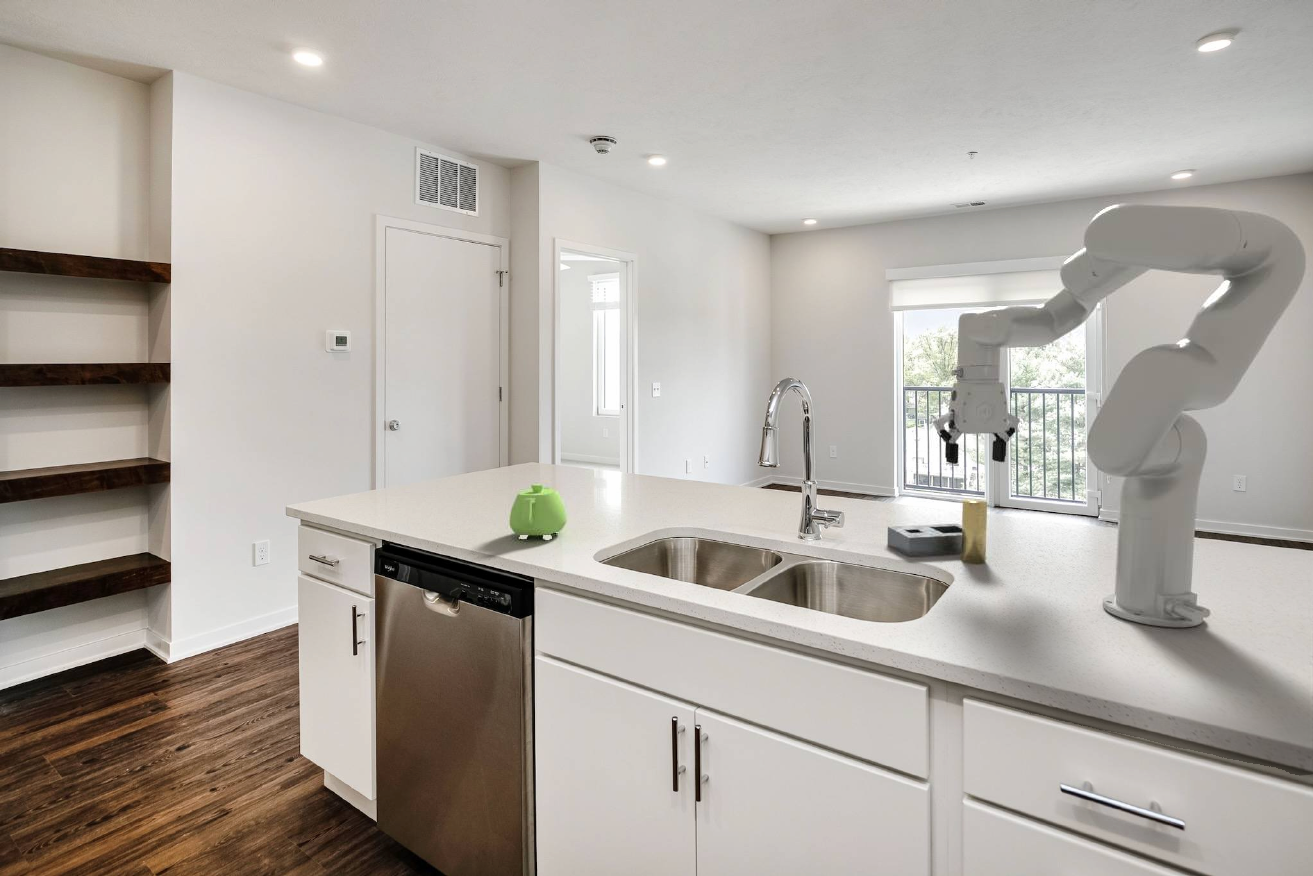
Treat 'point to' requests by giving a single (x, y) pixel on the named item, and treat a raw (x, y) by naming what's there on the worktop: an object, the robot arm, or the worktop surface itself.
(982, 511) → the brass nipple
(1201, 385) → the robot arm
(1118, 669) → the worktop surface
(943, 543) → the block
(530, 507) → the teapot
